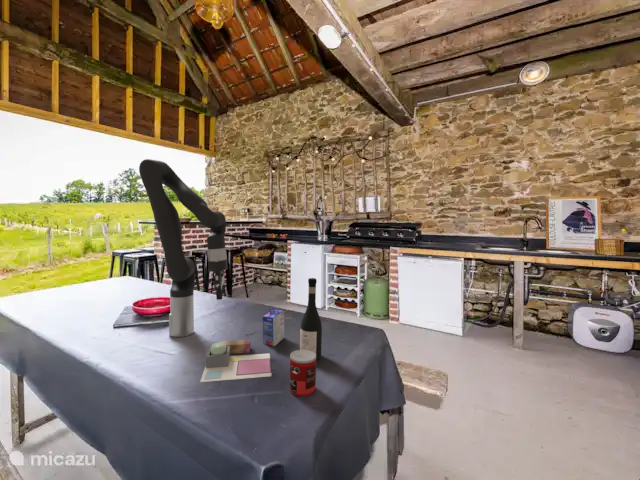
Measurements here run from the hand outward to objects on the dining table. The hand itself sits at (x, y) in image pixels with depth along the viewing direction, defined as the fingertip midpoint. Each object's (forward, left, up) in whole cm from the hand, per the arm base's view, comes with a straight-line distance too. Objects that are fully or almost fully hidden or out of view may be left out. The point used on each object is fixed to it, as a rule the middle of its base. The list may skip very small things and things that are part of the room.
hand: (220, 296), depth 125 cm
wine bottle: (+35, -24, -18) cm, 46 cm away
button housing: (+2, -24, -17) cm, 29 cm away
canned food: (+29, -44, -18) cm, 55 cm away
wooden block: (+7, -16, -18) cm, 25 cm away
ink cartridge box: (+22, -8, -18) cm, 30 cm away
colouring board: (+9, -28, -18) cm, 34 cm away
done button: (+2, -24, -15) cm, 28 cm away
